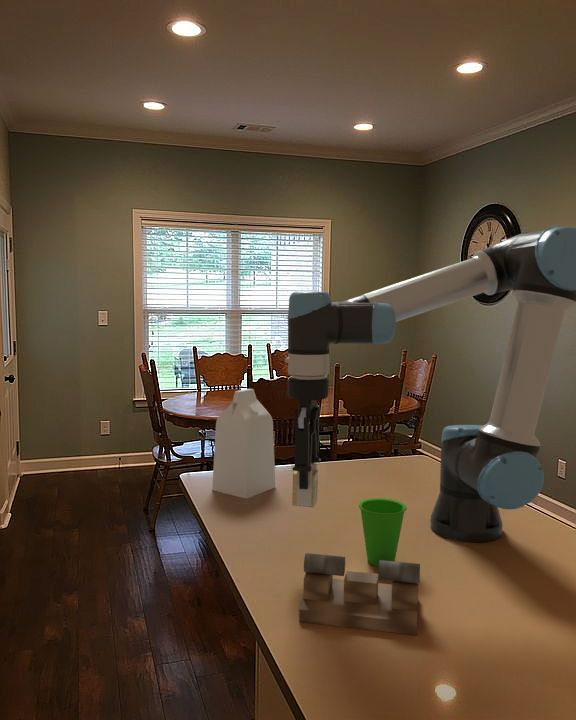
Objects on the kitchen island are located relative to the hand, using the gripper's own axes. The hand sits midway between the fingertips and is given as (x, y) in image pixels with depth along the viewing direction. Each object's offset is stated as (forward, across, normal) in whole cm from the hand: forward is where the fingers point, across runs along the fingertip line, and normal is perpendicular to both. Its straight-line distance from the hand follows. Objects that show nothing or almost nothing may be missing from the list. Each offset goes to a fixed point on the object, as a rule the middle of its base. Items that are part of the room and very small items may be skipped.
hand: (306, 500), depth 120 cm
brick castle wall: (+13, +15, +12) cm, 23 cm away
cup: (+13, -5, +14) cm, 19 cm away
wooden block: (0, 0, 0) cm, 1 cm away
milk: (+13, -43, -25) cm, 51 cm away
